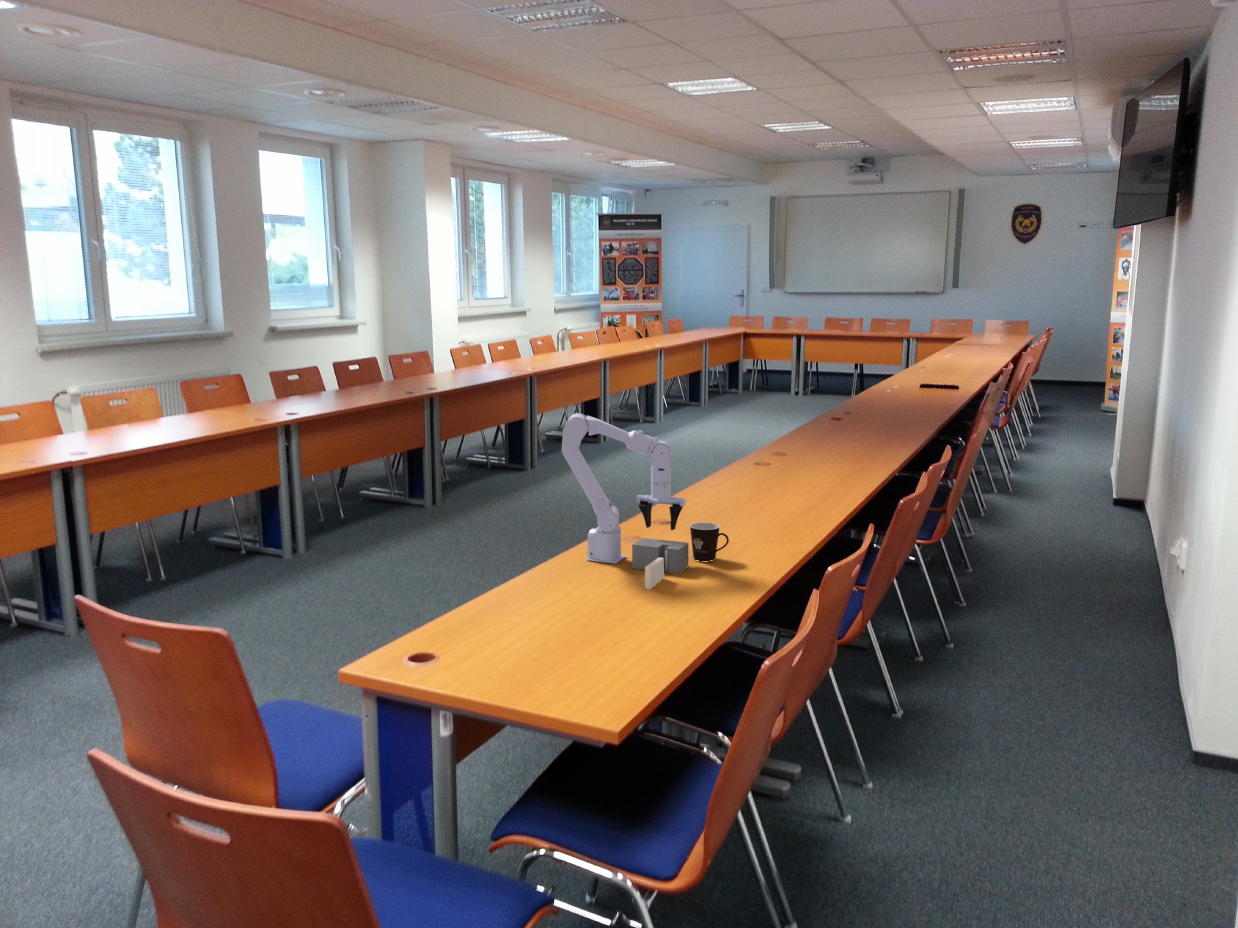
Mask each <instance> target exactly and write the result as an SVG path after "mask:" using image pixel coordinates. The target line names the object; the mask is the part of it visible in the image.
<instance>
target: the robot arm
mask: <svg viewBox="0 0 1238 928" xmlns="http://www.w3.org/2000/svg"><path fill="white" fill-rule="evenodd" d="M587 433H588V436H593V435H597V434H599V435H603V436H605V437H608V438H611V439H614V440H616V441H618V442H621V443H624V444H625V446H626V448H627V449H628V450H630V451H633V452H636V453H637V454H641V455H643V456H645V457H651V466H650V468H651V469H650V494H638V495H636V503H638V509H639V510H640V512H641V514H642V516H643V519H644V523H645V527H646V528H650V527H652V510H653V509H652V508H653V504H656V505H657V504H659V505H669V514H670V530H671V531H674V530H676V526H677V522H678V519H679V516H680V514H681V512H682V510H683V508H684V507H685V506H686V498H683V497H677V496H672V495H671V494H672V492H671V491H672V489H671V488H672V487H671V486H672V484H671V483H672V467H671V458H672V455H673V453H672V448H671V446H670V444H669V443H668V442H667V441H665V440H664V439H662V438H661V439H659V437H656V436H654V437H652V436H651V435H647V434H645V433H644V431H643V430H641V429H639V430H636V429H635V430H634V429H633V430H632V431H629V432H628V431H626V430H624V429H621V428H619V427H617V426H616V425H613V424H610V423H608V422H606V421H604V420H602V419H600V418H596V417H593V416H591V415H585V414H584V413H579V412H575V413H572V414H571V415H569V417H568V419H567V421H566V423H565V425H564V427H563V431H562V440H561V442H562V443H561V453H562V456H563V457H564V459H565V462H567V464H568V466H569V468H570V470H571V471H572V472H573V473H572V474H573V475H574V476H575V478H576V480H577V482H578V483H579V485H580V486H581V489H582V490H583V492H584V494H585V495H586V498H587V499H588V501H589V503H590V504H591V506H592V509H593V511H594V514H595V516H596V521H597V526H596V528H595V527H593V528H591V529H590V530H589V532H588V534H587V558H586V561H590V562H598V563H605V564H606V563H607V564H618V563H619V562H620V561H622V560H624V559H625V558H627V555H626V554H622V528H621V527H620V525H619V524H620V510H619V508H618V507H617V506H615V505H614V504H612V502H611V501H610V500H609V498H608V497H607V496H606V494H605V492H604V490H603V489H602V487H601V486H600V483H599V482H598V479H597V478H596V477H595V475H594V473H593V472H592V471H593V470H591V468H590V466H589V464H588V463H587V461H586V459H585V457H584V456H583V454H582V452H581V450H580V447H581V443H582V440H583V439H584V437H585V436H586V434H587Z"/></svg>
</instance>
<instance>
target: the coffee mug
mask: <svg viewBox="0 0 1238 928" xmlns="http://www.w3.org/2000/svg"><path fill="white" fill-rule="evenodd" d="M689 530H690V538H691V547H692V549H691V550H692V557H693V558H694V559H695V560H699V561H710V560H714V559H715V560H716V556H717V552H719V551H720V550H722V549H724V548H726V547H727V545H728V544H729V542H730V540H729V536H728V535H727V534H726V533H724V532H720V525H719V524H717V523H713V522H695V523H691V524H690V525H689ZM719 532H720V533H719ZM720 536H724V537H725V538H726V542H725V544H724V545H723V546H721V547H719V548H718V541H719V537H720ZM693 558H692V559H693ZM694 559H693V560H694ZM695 560H694V561H695Z"/></svg>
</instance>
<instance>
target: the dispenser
mask: <svg viewBox="0 0 1238 928" xmlns="http://www.w3.org/2000/svg"><path fill="white" fill-rule="evenodd" d="M689 544H690V543H689V542H685V541H677V540H676V541H675V540H674V541H673V540H667V539H666V540H665V539H658V538H657V539H656V538H647V537H646V538H645V537H642V538H641V539H639V540H636V542H635V543H634V542H633V544H632V546H631V547H632V549H631V555H632V558H631V562H632V564H631V568H635V570H640V569H644V570H643V571H645V567H646V566H647V565H649V564H650V563H651V562H653V561H654V560H656V559H657V558H664V568H665V569H664V573H665V572H666V573H665V574H669V573H668V572H671V573H670V574H674V573H677V575H679V574H681V573H682V572H683V571H685V570H686V569H687V568H688V567H689ZM687 566H688V567H687ZM686 567H687V568H686ZM685 568H686V569H685ZM684 569H685V570H684ZM681 571H682V572H681ZM680 572H681V573H680Z"/></svg>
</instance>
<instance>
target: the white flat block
mask: <svg viewBox="0 0 1238 928" xmlns="http://www.w3.org/2000/svg"><path fill="white" fill-rule="evenodd" d="M664 574H665V569H664V558H657V559H656V560H654V561H653V562H651V563H650V564H649V565H647V566H646V567H645V570H644V589H645V588H646V589H645V590H652V589H653V588H654V587H655V586H657V585H658V584H659V583H661V580H662V579H663V580H664V579H665V577H664V576H665V575H664ZM663 580H662V581H663ZM658 582H659V583H658ZM657 583H658V584H657ZM656 584H657V585H656ZM652 587H653V588H652Z"/></svg>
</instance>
